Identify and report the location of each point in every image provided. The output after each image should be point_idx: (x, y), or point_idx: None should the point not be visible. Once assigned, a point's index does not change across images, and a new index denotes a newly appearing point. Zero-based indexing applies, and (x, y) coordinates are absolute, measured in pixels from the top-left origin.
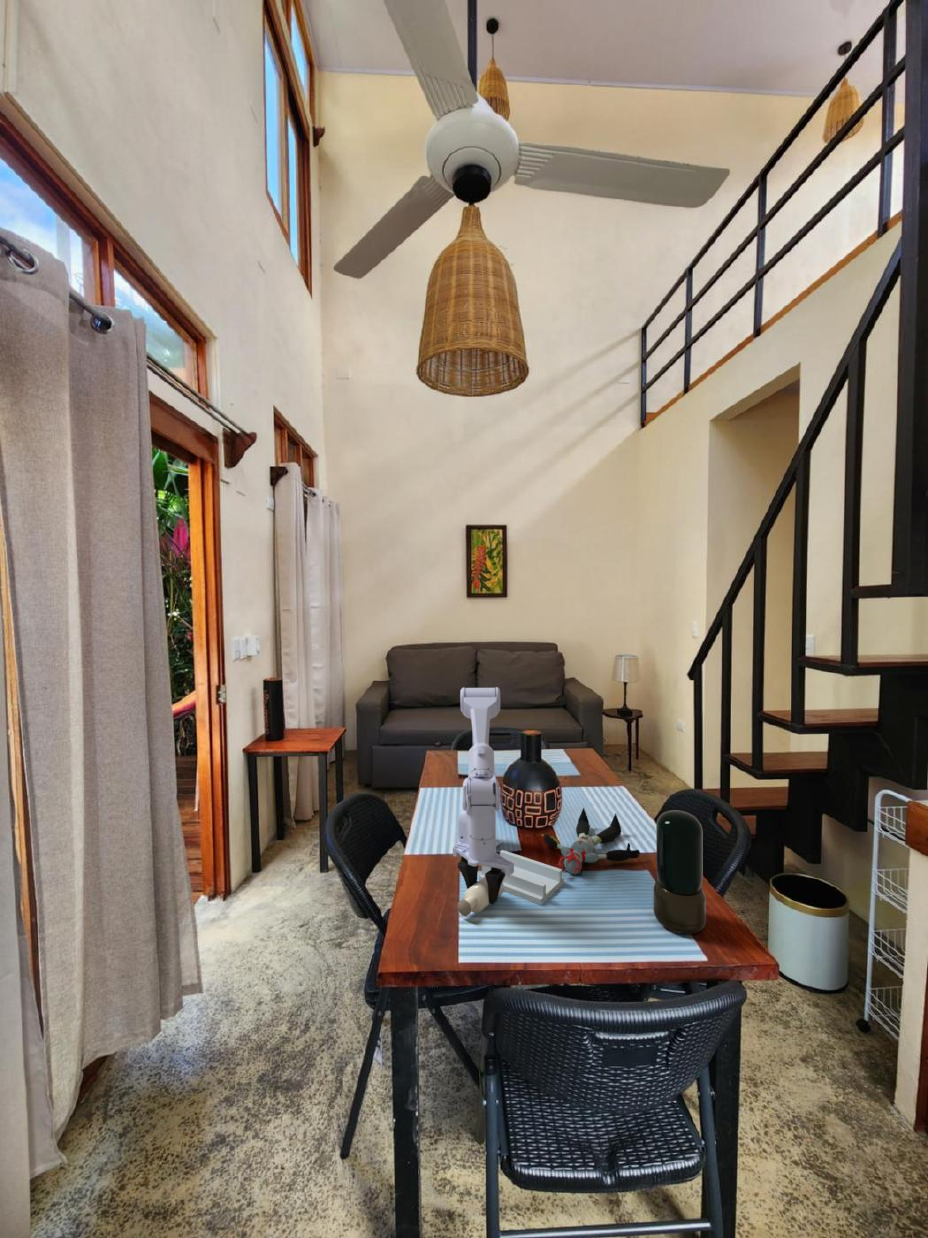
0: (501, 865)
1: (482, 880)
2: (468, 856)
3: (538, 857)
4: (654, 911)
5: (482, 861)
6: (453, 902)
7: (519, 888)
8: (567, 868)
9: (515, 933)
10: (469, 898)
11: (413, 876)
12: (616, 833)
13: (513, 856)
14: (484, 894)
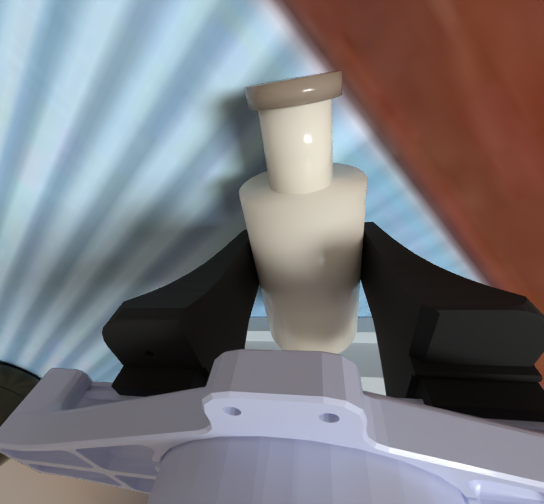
0: (35, 444)
1: (319, 302)
2: (433, 470)
3: None
4: (13, 388)
5: (183, 447)
6: (433, 160)
7: (255, 341)
8: None
9: (97, 173)
10: (291, 154)
11: None
12: None
13: None
14: (251, 234)
